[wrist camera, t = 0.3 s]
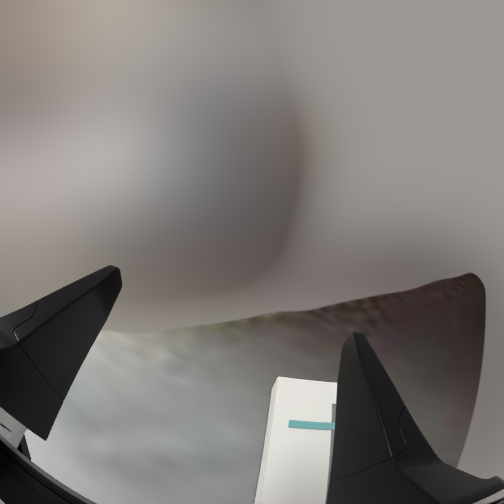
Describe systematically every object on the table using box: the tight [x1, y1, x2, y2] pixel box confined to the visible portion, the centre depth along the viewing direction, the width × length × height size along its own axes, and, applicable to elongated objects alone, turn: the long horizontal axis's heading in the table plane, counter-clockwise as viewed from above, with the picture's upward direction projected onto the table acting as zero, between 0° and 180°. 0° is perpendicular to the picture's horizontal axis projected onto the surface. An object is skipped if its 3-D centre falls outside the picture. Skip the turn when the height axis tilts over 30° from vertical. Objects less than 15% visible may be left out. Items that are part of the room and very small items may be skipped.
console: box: [255, 377, 337, 504], centre depth 15 cm, size 18×10×3 cm, turn 172°
